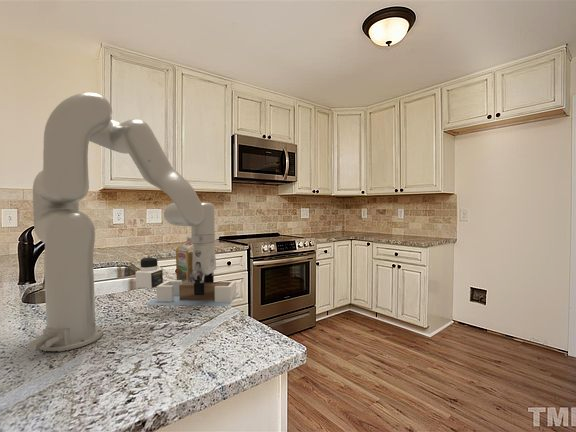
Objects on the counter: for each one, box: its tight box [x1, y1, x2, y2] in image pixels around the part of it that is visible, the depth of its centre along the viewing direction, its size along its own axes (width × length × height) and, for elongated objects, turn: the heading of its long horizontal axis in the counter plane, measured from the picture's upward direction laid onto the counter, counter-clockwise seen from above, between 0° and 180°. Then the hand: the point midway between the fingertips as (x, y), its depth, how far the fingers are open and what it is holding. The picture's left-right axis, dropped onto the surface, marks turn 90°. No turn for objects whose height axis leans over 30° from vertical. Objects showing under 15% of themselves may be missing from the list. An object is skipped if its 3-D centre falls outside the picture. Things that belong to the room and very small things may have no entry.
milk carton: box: [175, 236, 206, 283], centre depth 125 cm, size 11×10×19 cm
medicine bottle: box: [135, 256, 164, 289], centre depth 119 cm, size 7×7×12 cm
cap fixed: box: [215, 280, 237, 303], centre depth 100 cm, size 7×5×5 cm
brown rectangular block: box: [179, 282, 230, 300], centre depth 101 cm, size 4×16×5 cm, turn 86°
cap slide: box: [155, 279, 182, 302], centre depth 102 cm, size 8×5×5 cm, turn 176°
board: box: [144, 292, 239, 307], centre depth 101 cm, size 14×27×1 cm, turn 86°
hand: (204, 290), depth 101 cm, fingers open, 8 cm apart
